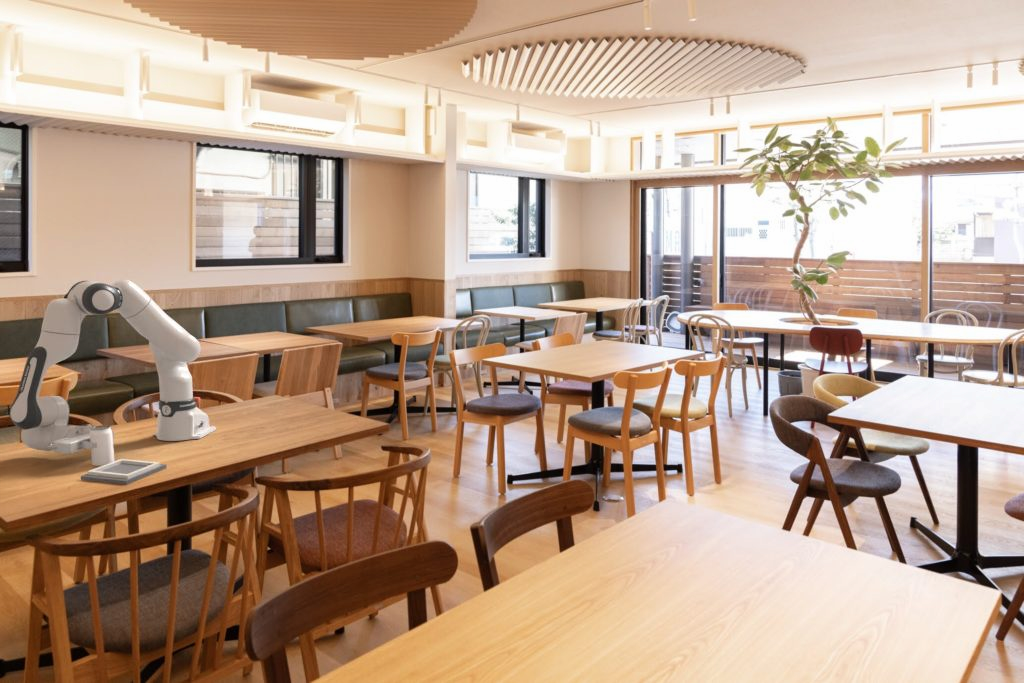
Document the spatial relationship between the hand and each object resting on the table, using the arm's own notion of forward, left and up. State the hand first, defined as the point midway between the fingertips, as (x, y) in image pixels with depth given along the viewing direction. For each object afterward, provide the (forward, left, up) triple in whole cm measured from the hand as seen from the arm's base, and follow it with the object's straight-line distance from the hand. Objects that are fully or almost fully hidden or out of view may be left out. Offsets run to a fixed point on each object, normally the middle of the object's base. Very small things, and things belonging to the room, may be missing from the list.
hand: (105, 442), depth 255 cm
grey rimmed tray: (+7, +13, -7) cm, 17 cm away
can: (0, -1, -7) cm, 7 cm away
